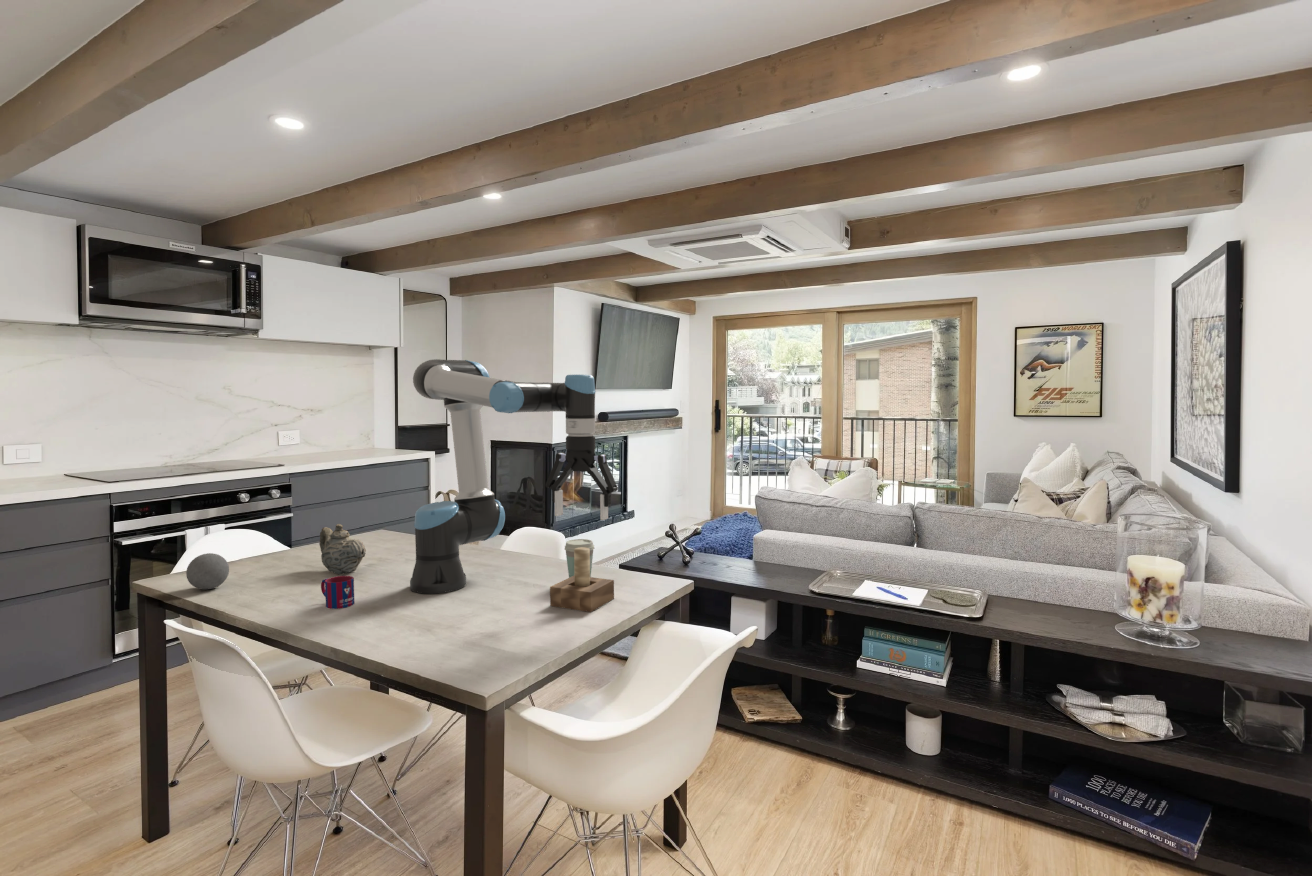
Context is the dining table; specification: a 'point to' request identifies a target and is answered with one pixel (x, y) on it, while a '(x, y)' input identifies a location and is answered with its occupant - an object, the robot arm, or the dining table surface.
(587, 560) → the peg
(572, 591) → the socket
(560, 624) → the dining table surface
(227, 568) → the decorative ball
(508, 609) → the dining table surface
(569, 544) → the coffee cup
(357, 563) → the teapot
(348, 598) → the cup
